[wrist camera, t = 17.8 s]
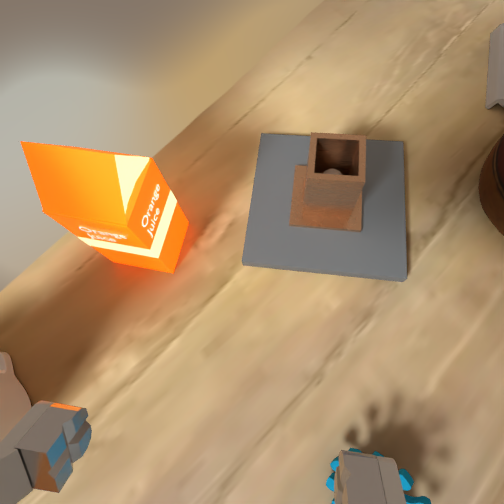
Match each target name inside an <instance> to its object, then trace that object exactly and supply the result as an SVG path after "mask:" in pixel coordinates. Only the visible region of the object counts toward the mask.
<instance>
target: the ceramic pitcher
mask: <svg viewBox="0 0 504 504" xmlns="http://www.w3.org/2000/svg"><path fill="white" fill-rule="evenodd" d="M479 196H480V202H481V205H482V208H483V210H484V212H485V213H486V215H487V216H488V218H489V219H490V220H491V222H492V223H493V224H494V225H495V227H496V228H497V229H498V231H499V232H500V233H501V234H502V235H503V236H504V134H503V136H502V137H501V138H500V139H499V141H498V142H497V143H496V145H495V146H494V147H493V149H492V151H491V152H490V154H489V156H488V158H487V159H486V161H485V163H484V165H483V168H482V171H481V174H480V179H479Z"/></svg>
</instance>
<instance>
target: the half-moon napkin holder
mask: <svg viewBox="0 0 504 504" xmlns="http://www.w3.org/2000/svg"><path fill="white" fill-rule="evenodd" d="M497 103H498V104H500V105H501V106H503V107H504V23H503V24H500V25H499V26H498V27H497V28H496V29H495V30H494V31H493V32H492V33H491V34H490V47H489V62H488V76H487V91H486V105H485V108H487V109H490V108H491V107H492V106H494V105H495V104H497Z"/></svg>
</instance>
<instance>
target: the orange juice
mask: <svg viewBox="0 0 504 504" xmlns="http://www.w3.org/2000/svg"><path fill="white" fill-rule="evenodd" d="M21 145H22V148H23V151H24V154H25V156H26V159H27V163H28V166H29V168H30V171H31V174H32V177H33V180H34V183H35V186H36V189H37V192H38V195H39V198H40V201H41V204H42V207H43V212H44V213H45V214H47V215H48V216H50V217H51V218H52V219H54V220H55V221H57V222H58V223H59V224H61V225H62V226H64V227H65V228H66V229H68V230H69V231H70V232H72V233H73V234H75V235H76V236H77V237H78V238H79V239H81V240H82V241H84V242H85V243H86V244H88V245H89V246H91V247H93V248H94V249H96V250H97V251H98V252H100V253H101V254H103V255H104V256H105V257H107V258H108V259H110V260H111V261H112V262H116V263H121V264H127V265H132V266H137V267H142V268H148V269H153V270H158V271H163V272H169V273H174V270H175V267H176V263H177V260H178V257H179V254H180V250H181V247H182V244H183V240H184V237H185V234H186V231H187V227H188V224H189V222H188V220H187V219H186V217H185V215H184V213H183V211H182V210H181V208H180V206H179V204H178V203H177V200H176V198H175V196H174V195H173V193H172V191H171V190H170V189H169V187H168V185H167V183H166V182H165V180H164V178H163V176H162V174H161V173H160V171H159V169H158V167H157V166H156V164H155V162H154V160H153V159H152V158H150V157H144V156H136V155H129V154H122V153H114V152H107V151H100V150H93V149H86V148H79V147H71V146H61V145H51V144H40V143H31V142H22V141H21Z"/></svg>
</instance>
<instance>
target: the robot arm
mask: <svg viewBox="0 0 504 504" xmlns="http://www.w3.org/2000/svg"><path fill="white" fill-rule="evenodd" d="M87 417H88V413H87V409H86V408H81V407H76V406H71V405H65V404H60V403H55V402H49V401H43V400H41V401H39V402H37V403H36V404H34V406H33V407H31V403H30V400H29V397H28V395H27V393H26V391H25V389H24V388H23V386H22V385H21V384H20V382H19V381H18V380H17V378H16V377H15V375H14V371H13V365H12V361H11V358H10V355H9V354H8V353H6V352H0V504H16V503H18V502H19V501H20V500H21V499H23V498H24V497H25V496H26V495H28V494H29V493H30V492H31V491H32V490H33V489H38V490H45V491H51V492H57V493H59V492H60V490H61V489H62V487H63V486H64V484H65V483H66V481H67V480H68V478H69V476H70V475H71V473H72V472H73V463H74V462H75V461H77V460H78V459H79V458H81V457H82V456H83V454H84V453H85V451H86V449H87V447H88V445H89V442H90V439H91V431H92V430H91V425H90V424H89V423H88V422H87V421H86V418H87ZM334 499H335V504H406V500H405V496H404V492H403V488H402V484H401V480H400V476H399V472H398V468H397V464H396V462H395V460H394V459H393V458H387V457H380V456H375V455H371V454H365V453H358V452H351V451H344V450H341V451H340V454H339V466H338V467H336V471H335V479H334Z"/></svg>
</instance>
